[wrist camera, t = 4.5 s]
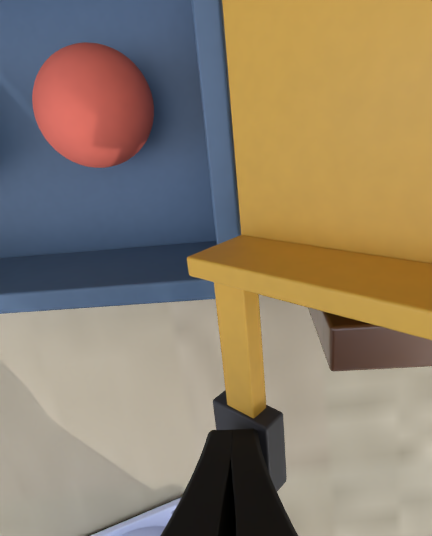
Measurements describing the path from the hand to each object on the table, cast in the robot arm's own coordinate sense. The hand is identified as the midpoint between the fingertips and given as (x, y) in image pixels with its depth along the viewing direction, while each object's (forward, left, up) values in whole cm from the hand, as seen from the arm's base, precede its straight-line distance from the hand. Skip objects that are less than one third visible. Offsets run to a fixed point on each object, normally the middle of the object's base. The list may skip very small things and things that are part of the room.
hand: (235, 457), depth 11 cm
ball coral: (+1, +10, -5) cm, 11 cm away
